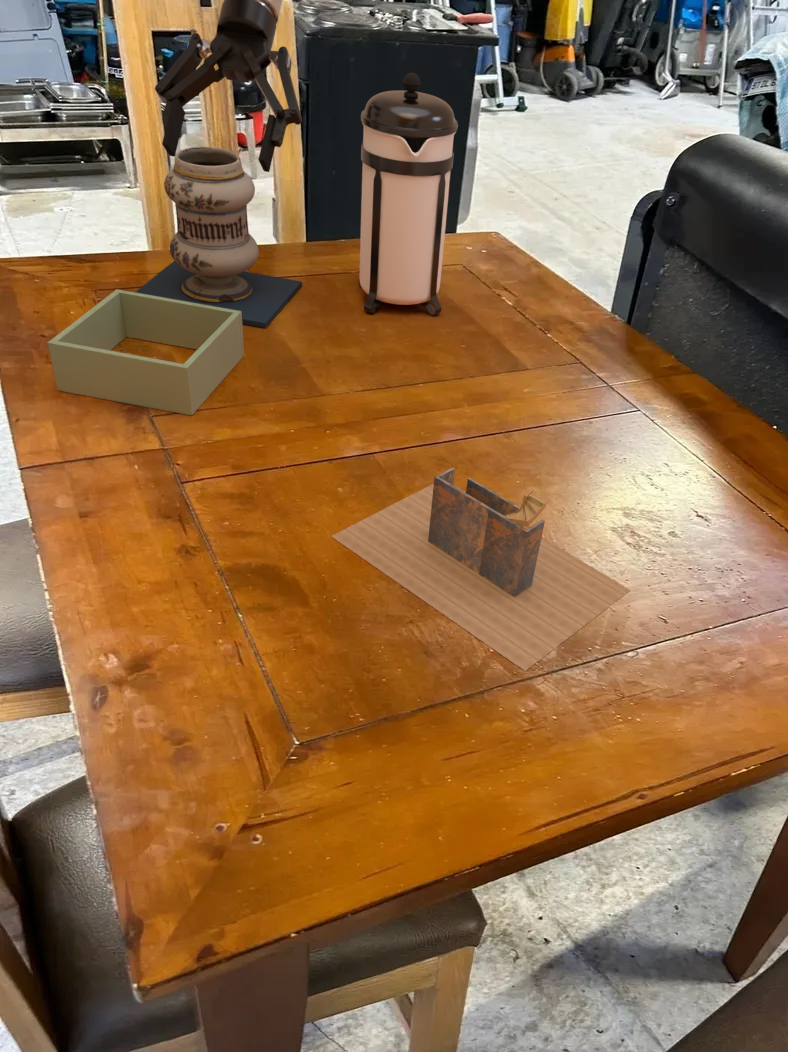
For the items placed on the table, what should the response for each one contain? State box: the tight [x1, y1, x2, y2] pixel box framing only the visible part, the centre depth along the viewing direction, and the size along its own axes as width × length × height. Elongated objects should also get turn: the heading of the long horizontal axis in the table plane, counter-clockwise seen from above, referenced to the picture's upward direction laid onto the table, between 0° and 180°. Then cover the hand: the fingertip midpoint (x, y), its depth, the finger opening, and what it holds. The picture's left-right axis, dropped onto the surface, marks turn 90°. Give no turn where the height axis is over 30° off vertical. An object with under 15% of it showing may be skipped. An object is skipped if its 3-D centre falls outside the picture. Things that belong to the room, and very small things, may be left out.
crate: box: [47, 288, 245, 416], centre depth 107 cm, size 17×17×6 cm
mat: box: [134, 260, 303, 329], centre depth 128 cm, size 20×16×1 cm
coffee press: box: [358, 72, 459, 317], centre depth 124 cm, size 17×16×30 cm
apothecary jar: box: [163, 146, 260, 303], centre depth 122 cm, size 12×12×18 cm
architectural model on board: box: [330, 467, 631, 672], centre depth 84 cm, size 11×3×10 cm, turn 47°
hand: (215, 158), depth 120 cm, fingers open, 13 cm apart
